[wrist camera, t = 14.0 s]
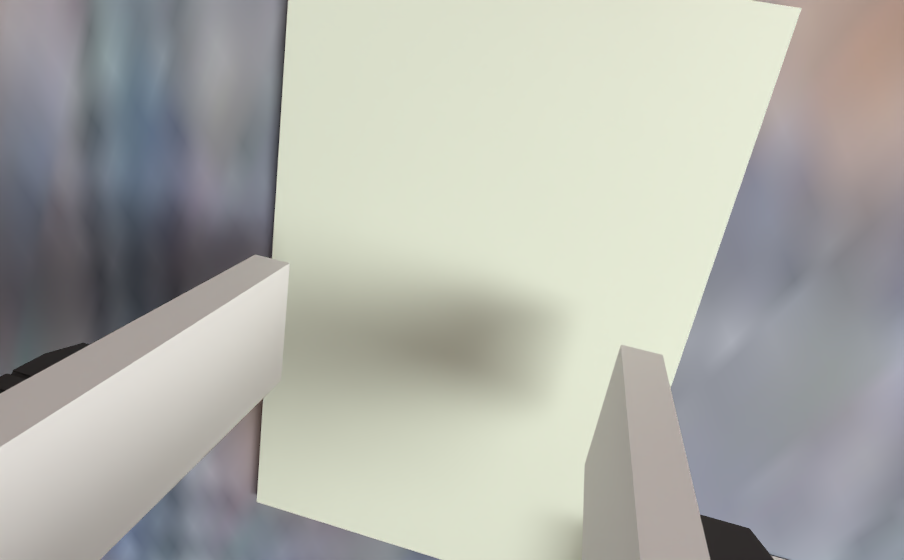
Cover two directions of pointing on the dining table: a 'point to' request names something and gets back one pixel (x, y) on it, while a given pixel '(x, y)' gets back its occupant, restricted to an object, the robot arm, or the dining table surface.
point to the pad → (492, 247)
